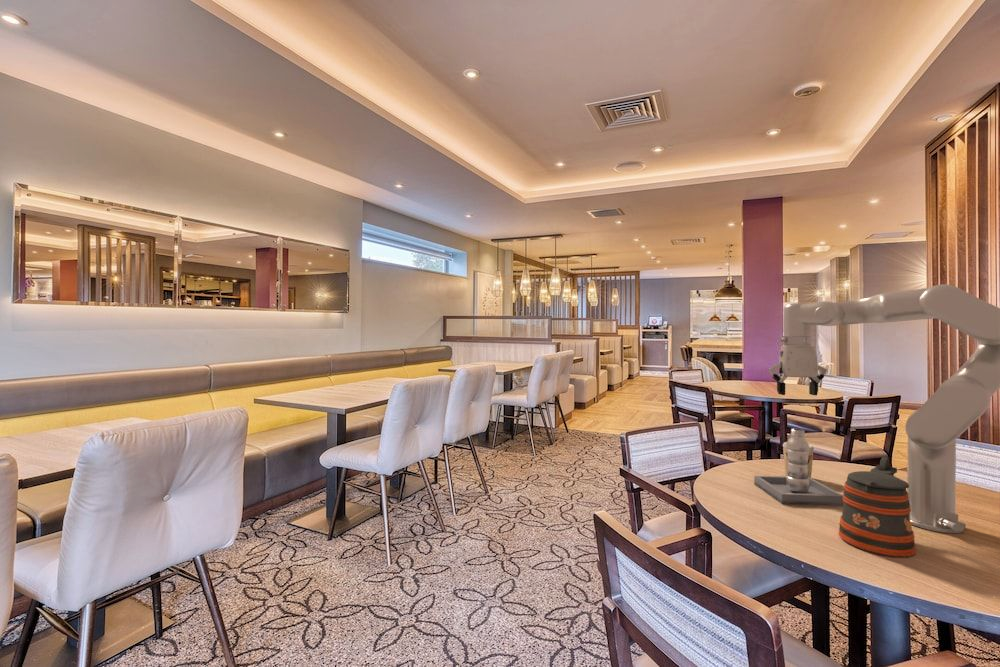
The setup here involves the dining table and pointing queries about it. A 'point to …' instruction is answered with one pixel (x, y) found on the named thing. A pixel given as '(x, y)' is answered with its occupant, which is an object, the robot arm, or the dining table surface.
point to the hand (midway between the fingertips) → (797, 394)
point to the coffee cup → (810, 459)
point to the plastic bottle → (797, 462)
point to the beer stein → (877, 512)
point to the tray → (782, 494)
